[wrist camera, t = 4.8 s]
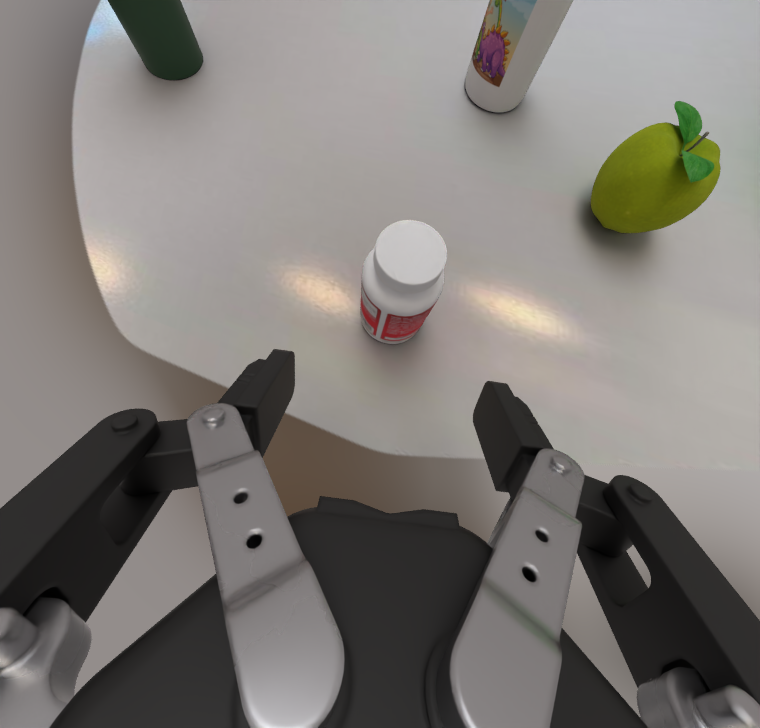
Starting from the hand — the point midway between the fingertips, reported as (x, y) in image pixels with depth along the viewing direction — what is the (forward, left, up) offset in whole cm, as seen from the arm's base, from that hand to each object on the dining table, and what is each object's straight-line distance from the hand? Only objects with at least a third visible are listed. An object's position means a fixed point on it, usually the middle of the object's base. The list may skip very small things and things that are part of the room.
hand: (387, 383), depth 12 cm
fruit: (+35, -7, -15) cm, 39 cm away
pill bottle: (+8, +4, -15) cm, 18 cm away
